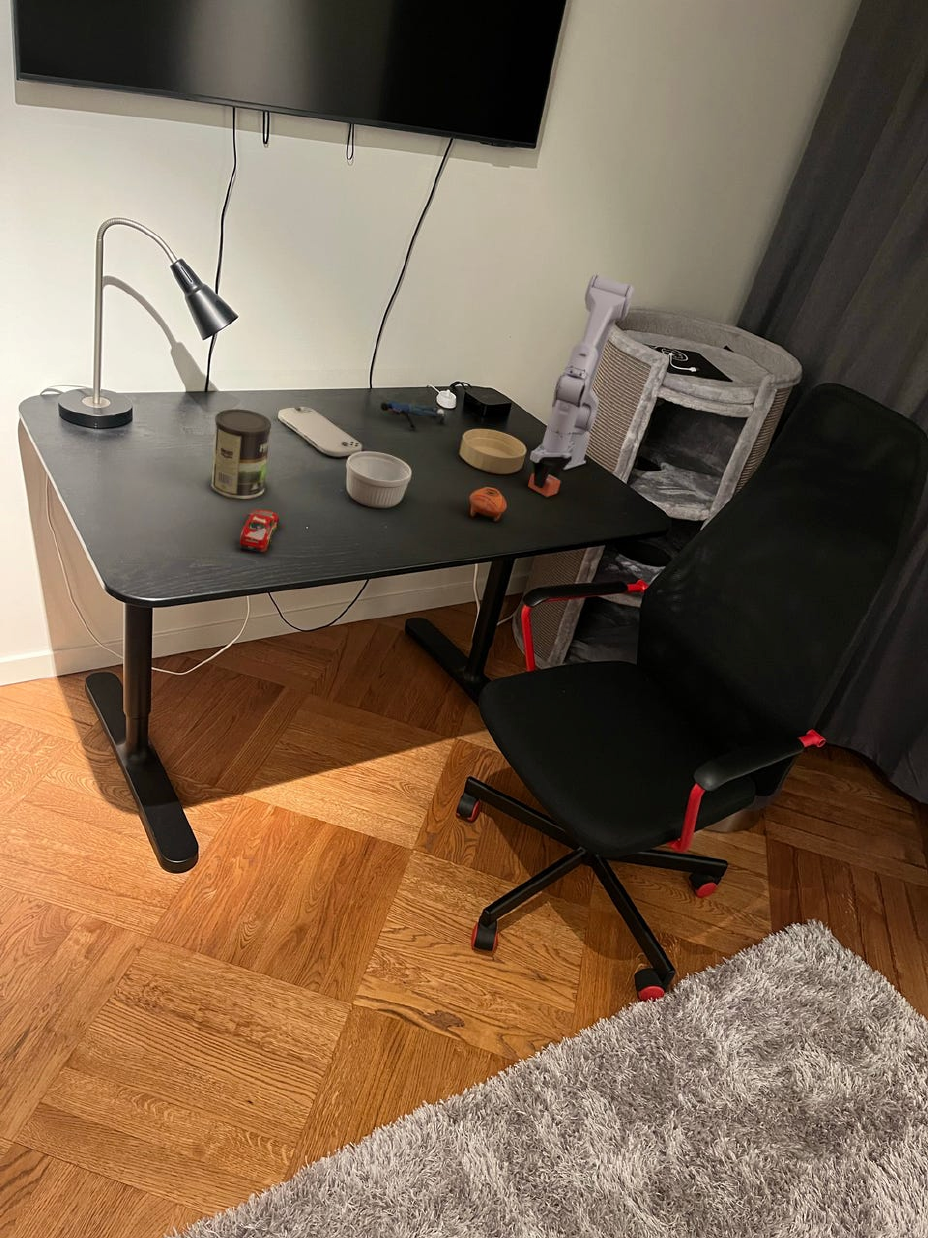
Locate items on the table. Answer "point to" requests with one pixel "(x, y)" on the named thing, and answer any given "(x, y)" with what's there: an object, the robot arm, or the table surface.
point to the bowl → (492, 451)
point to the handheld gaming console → (319, 432)
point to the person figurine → (413, 411)
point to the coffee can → (240, 453)
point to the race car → (259, 530)
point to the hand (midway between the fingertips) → (543, 484)
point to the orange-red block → (546, 485)
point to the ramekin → (377, 479)
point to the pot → (487, 502)
